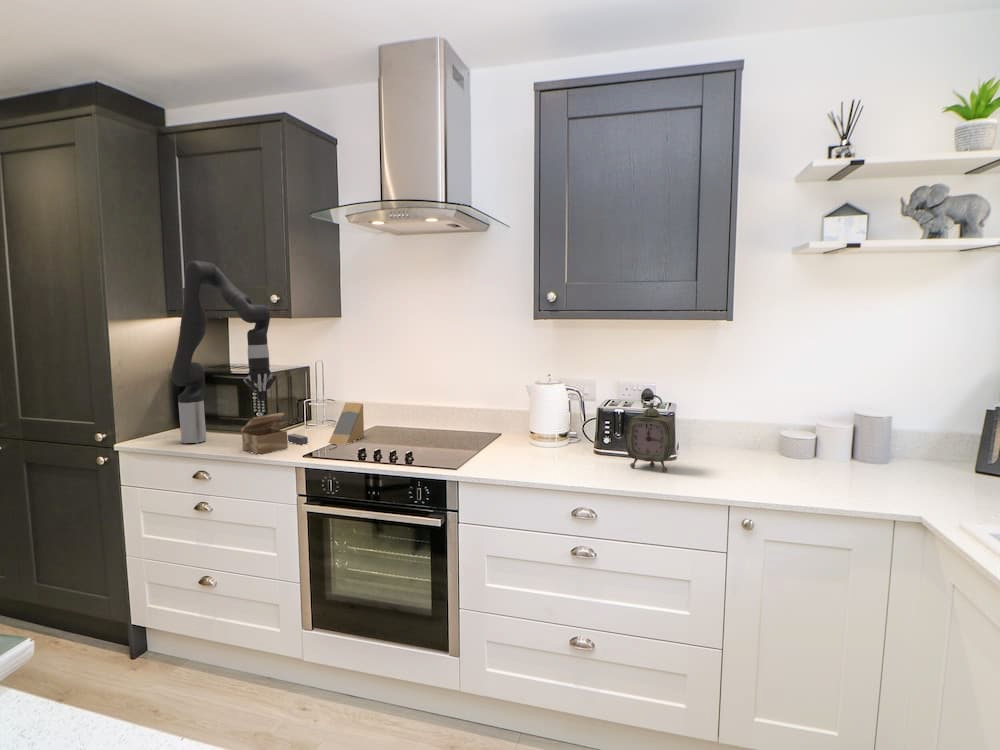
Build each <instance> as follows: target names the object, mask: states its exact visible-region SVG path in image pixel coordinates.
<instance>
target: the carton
mask: <svg viewBox="0 0 1000 750" xmlns="http://www.w3.org/2000/svg"><path fill="white" fill-rule="evenodd" d="M241 438H242V450H243V451H244V450H246V451H245V452H247V451H250V452H249V453H251V452H253V453H252V454H254V453H256V454H255V455H257V454H261V455H263V454H262V453H265V454H267V453H266V452H270V453H273V452H272V451H275V452H277V451H276V450H280V451H283V450H282V449H284V450H288V449H289V446H288V443H289V442H288V431H287V430H283V429H278V428H275V427H268V428H262V429H256V430H251V431H245V432H241ZM287 448H288V449H287Z"/></svg>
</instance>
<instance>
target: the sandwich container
mask: <svg viewBox="0 0 1000 750" xmlns="http://www.w3.org/2000/svg"><path fill="white" fill-rule="evenodd" d="M364 420H365V419H364V403H362V402H361V403H359V402H345V403H344V406H343V409H342V410H341V413H340V416H339V418H338V421H337V422H336V425H335V427H334V430H333V432H332V435H331V436H330V439H329V442H328V443H330V444H331V443H332V444H347V443H350V442H352V441H354V440H357V439H359V438H361V437H363V436H364V437H365V434H364V433H365V429H364V427H365V424H364ZM359 440H360V439H359ZM357 441H358V440H357ZM350 444H351V443H350Z"/></svg>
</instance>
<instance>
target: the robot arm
mask: <svg viewBox="0 0 1000 750" xmlns="http://www.w3.org/2000/svg"><path fill="white" fill-rule="evenodd" d="M201 286H212V287H214V288H215V289H217V290H219V291H220V293H221V294H220V295H221V297H222V300H224V302H225V303H226V304H228V305H229V306H230V307H231V308H233V309H234V310H235V311H236V313H237V314H238V316H239V317H240V318H241V320H243V322H245V323H248V324H255V325H254V328H252V329H248V331H247V333H246V334H247V335H246V336H247V337H246V339H247V361H248V362H247V366H248V370H249V371H248V375H247V376H246V377H244V378H243V379H242V381H243V382H244V383H245V384H246V385H247V387H249V389H250V390H251V391H255V392H256V399H257V400H258V401H259V402H263V401H265V400H266V395H267V394H266V391H267V390H269V389H271V387H272V385H273V383H275V381H276V379H277V375H274V374H272V373H271V370H270V352H269V351H270V350H269V345H268V332H269V331H268V330H269V327H270V326H269V325H270V321H271V312H270V309H269V308H268V306H267V305H264V304H252V298H251V297H250V296H248V295H247V294H246V293H244V292H243V291H242V290H241V289H239V288H238V287H237V286H236V285H234V284H233V283H232V282H231V281H230V280H229V278H227V276H226V275H225V274H224V273H223V271H221V269H220V268H219V267H218V265H217V266H216V264H214V263H213V262H208V261H200V260H191V261H189V262H188V263H187V265H186V267H185V271H184V292H183V293H184V296H183V297H184V298H183V304H182V305H183V306H182V314H181V320H180V326H179V334H178V341H177V346H176V348H177V349H176V352H175V356H174V359H173V360H174V361H173V363H172V368H171V379H172V382H173V384H175V385H176V386H178V387H185V389H184V390H183V391H182V392H181V393H180V394H179V395H178V396H177V403H178V413H179V414H178V415H179V425H180V427H179V428H180V442H182V443H196V444H200V443H199V442H202V443H204V442H203V441H205V442H206V441H207V429H206V416H205V415H206V414H205V405H204V404H205V403H204V396H205V392H206V384H205V383H206V376H205V375H206V374H205V370H204V368H203V366H202V364H200V363H199V362H194V361H193V362H192V360H193V355H195V354H194V353H195V351H196V350H197V348H198V347H199V345H200V344H201V343H202V341H203V340H204V338H205V335H206V330H207V325H208V316H207V312H206V310H205V308H204V305H203V304H202V302H201V301H202V300H201ZM182 443H181V444H182Z"/></svg>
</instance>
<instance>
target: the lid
mask: <svg viewBox="0 0 1000 750" xmlns="http://www.w3.org/2000/svg"><path fill="white" fill-rule="evenodd" d="M284 415H285V412H277V413H272V414H265V415H259V416H253V417H252V418H251V419H250V420H249V421H248V422H247V423H245V425H244V426H243V427H242V428H240V432H241V433H243V432H249V431H255V430H260V429H266V428H273V426H274V425H275V424H276V423H278V421H279V420H281V418H283V417H284Z"/></svg>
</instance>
